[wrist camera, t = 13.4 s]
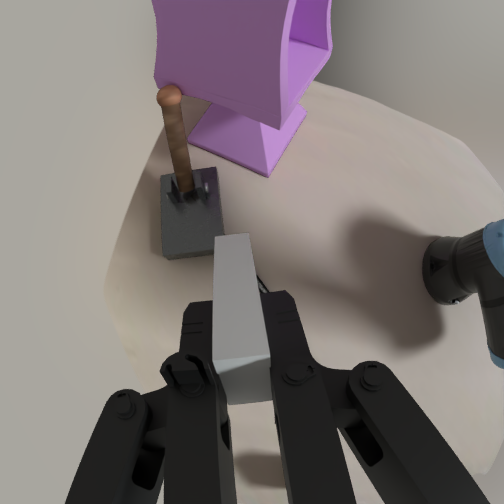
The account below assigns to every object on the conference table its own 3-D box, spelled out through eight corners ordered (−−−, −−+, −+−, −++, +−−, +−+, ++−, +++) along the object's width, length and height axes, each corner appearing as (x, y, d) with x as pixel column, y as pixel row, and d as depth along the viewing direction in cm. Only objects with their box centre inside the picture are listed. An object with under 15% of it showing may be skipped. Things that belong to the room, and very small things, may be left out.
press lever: (174, 195, 47) (152, 89, 34) (177, 184, 50) (157, 86, 37) (197, 191, 47) (178, 83, 35) (198, 181, 50) (181, 81, 38)
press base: (169, 260, 52) (153, 249, 43) (166, 184, 55) (153, 162, 46) (226, 252, 52) (221, 240, 43) (218, 176, 55) (213, 152, 47)
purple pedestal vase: (271, 186, 55) (304, -46, 11) (179, 145, 57) (113, -42, 13) (313, 114, 59) (359, -59, 15) (231, 83, 62) (220, -77, 18)
